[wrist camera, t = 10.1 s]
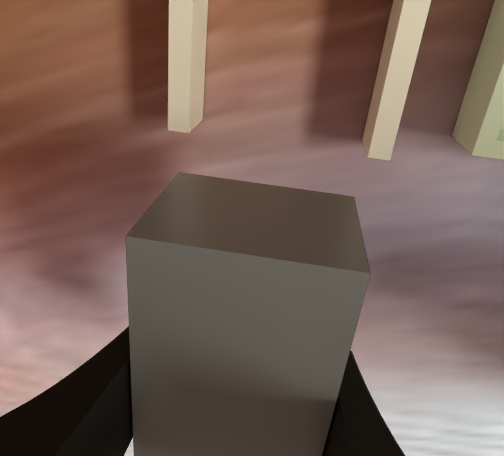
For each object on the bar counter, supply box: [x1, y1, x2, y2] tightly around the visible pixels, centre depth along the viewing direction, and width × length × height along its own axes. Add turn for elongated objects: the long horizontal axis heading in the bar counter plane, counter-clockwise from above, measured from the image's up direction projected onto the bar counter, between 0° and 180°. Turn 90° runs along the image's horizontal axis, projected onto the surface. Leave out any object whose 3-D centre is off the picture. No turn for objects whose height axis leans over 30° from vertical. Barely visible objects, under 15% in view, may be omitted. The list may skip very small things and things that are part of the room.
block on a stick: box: [126, 172, 370, 456], centre depth 13 cm, size 12×5×4 cm, turn 174°
